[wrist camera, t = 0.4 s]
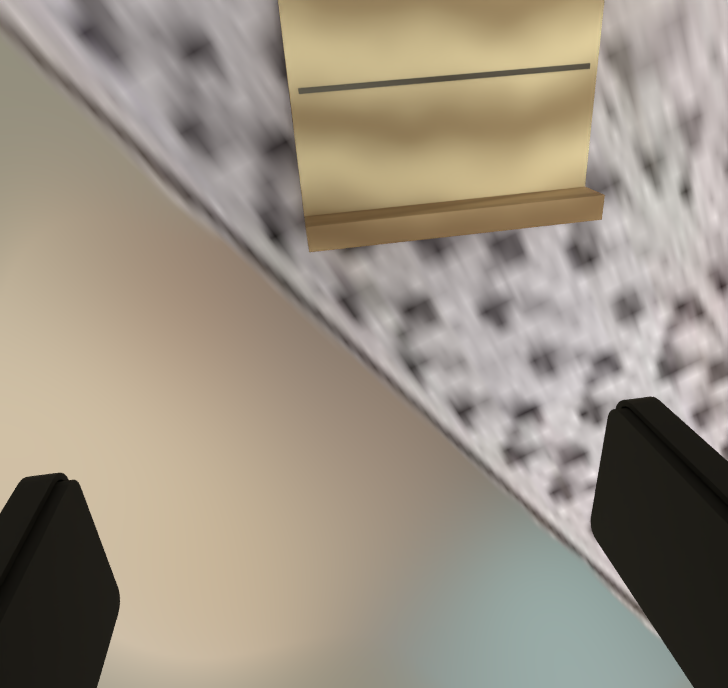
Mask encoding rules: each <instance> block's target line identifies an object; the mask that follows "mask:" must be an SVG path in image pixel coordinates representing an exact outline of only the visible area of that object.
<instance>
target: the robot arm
mask: <svg viewBox="0 0 728 688" xmlns="http://www.w3.org/2000/svg"><path fill="white" fill-rule="evenodd" d="M591 528H592V532H593V534H594V537H595V539H596V540H597V542H598V543H599V545H600V547H601V548H602V550H603V551H604V553H605V554H606V556H607V557H608V559H609V560H610V562H611V563H612V565H613V566H614V568H615V569H616V571H617V572H618V574H619V575H620V577H621V578H622V580H623V581H624V583H625V584H626V586H627V587H628V589H629V590H630V592H631V593H632V595H633V596H634V598H635V599H636V601H637V602H638V604H639V605H640V607H641V609H642V610H643V612H644V613H645V615H646V616H647V618H648V619H649V621H650V622H651V624H652V625H653V627H654V628H655V630H656V631H657V633H658V634H659V636H660V637H661V639H662V640H663V642H664V643H665V645H666V646H667V648H668V649H669V651H670V652H671V654H672V655H673V657H674V658H675V660H676V661H677V663H678V664H679V666H680V667H681V669H682V670H683V672H684V673H685V675H686V676H687V678H688V679H689V681H690V682H691V684H692V685H693V687H694V688H728V461H727V460H726V459H724V458H723V457H722V456H721V455H720V454H719V453H718V452H717V451H716V450H714V449H713V448H712V447H711V446H710V445H709V444H708V443H707V442H705V441H704V440H703V439H702V438H701V437H700V436H699V435H698V434H697V433H695V432H694V431H693V430H692V429H691V428H690V427H689V426H688V425H686V424H685V423H684V422H683V421H682V420H681V419H680V418H679V417H678V416H676V415H675V414H674V413H673V412H672V411H671V410H670V409H669V408H667V407H666V406H665V405H664V404H663V403H662V402H661V401H660V400H658V399H657V398H655V397H644V398H636V399H628V400H622V401H620V402H619V403H618V404H617V406H616V409H613V410H611V411H610V413H609V415H608V419H607V425H606V431H605V437H604V443H603V449H602V455H601V461H600V466H599V472H598V478H597V484H596V490H595V496H594V502H593V508H592V514H591ZM119 606H120V594H119V589H118V586H117V584H116V581H115V579H114V576H113V573H112V570H111V567H110V565H109V562H108V560H107V557H106V554H105V552H104V549H103V546H102V543H101V541H100V538H99V535H98V532H97V530H96V527H95V525H94V522H93V519H92V516H91V514H90V511H89V508H88V505H87V503H86V500H85V498H84V495H83V492H82V490H81V487H80V485H79V483H78V482H77V481H76V480H68V478H67V476H66V475H65V474H63V473H53V474H46V475H38V476H30V477H25V478H23V479H22V480H21V481H20V482H19V484H18V485H17V487H16V488H15V490H14V492H13V493H12V495H11V497H10V498H9V500H8V501H7V503H6V505H5V506H4V508H3V510H2V511H1V513H0V688H97V685H98V682H99V679H100V675H101V672H102V668H103V665H104V661H105V658H106V654H107V651H108V647H109V644H110V640H111V637H112V633H113V630H114V626H115V623H116V620H117V616H118V612H119Z"/></svg>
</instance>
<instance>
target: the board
mask: <svg viewBox="0 0 728 688" xmlns="http://www.w3.org/2000/svg"><path fill="white" fill-rule="evenodd" d="M278 5H279V14H280V22H281V30H282V38H283V46H284V55H285V63H286V71H287V79H288V87H289V96H290V104H291V112H292V120H293V128H294V136H295V145H296V153H297V161H298V169H299V177H300V186H301V194H302V202H303V210H304V218H305V227H306V234H307V240H308V246H309V252H316V251H325V250H334V249H343V248H352V247H361V246H369V245H378V244H387V243H396V242H405V241H414V240H423V239H432V238H441V237H450V236H459V235H468V234H477V233H486V232H495V231H504V230H513V229H522V228H530V227H539V226H548V225H557V224H566V223H575V222H584V221H593V220H602V213H603V205H604V196H605V195H604V194H601V193H599V192H596V191H594V190H592V189H589V188H587V187H585V179H586V170H587V160H588V151H589V141H590V131H591V122H592V112H593V103H594V93H595V84H596V74H597V65H598V55H599V46H600V36H601V27H602V17H603V8H604V0H278Z"/></svg>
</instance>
